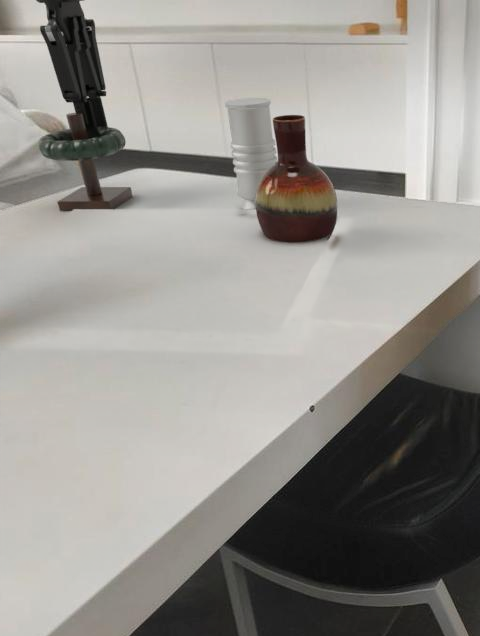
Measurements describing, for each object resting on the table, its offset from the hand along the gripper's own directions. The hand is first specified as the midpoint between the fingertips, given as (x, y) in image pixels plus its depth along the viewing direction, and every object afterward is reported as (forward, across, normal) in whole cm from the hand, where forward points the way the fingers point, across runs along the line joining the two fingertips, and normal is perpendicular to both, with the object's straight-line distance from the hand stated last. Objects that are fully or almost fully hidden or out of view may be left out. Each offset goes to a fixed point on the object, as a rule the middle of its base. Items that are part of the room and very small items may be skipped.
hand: (97, 143), depth 115 cm
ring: (-1, -5, 0) cm, 5 cm away
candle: (+8, -7, -29) cm, 31 cm away
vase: (+8, -24, -39) cm, 47 cm away
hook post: (+8, -5, 0) cm, 10 cm away
